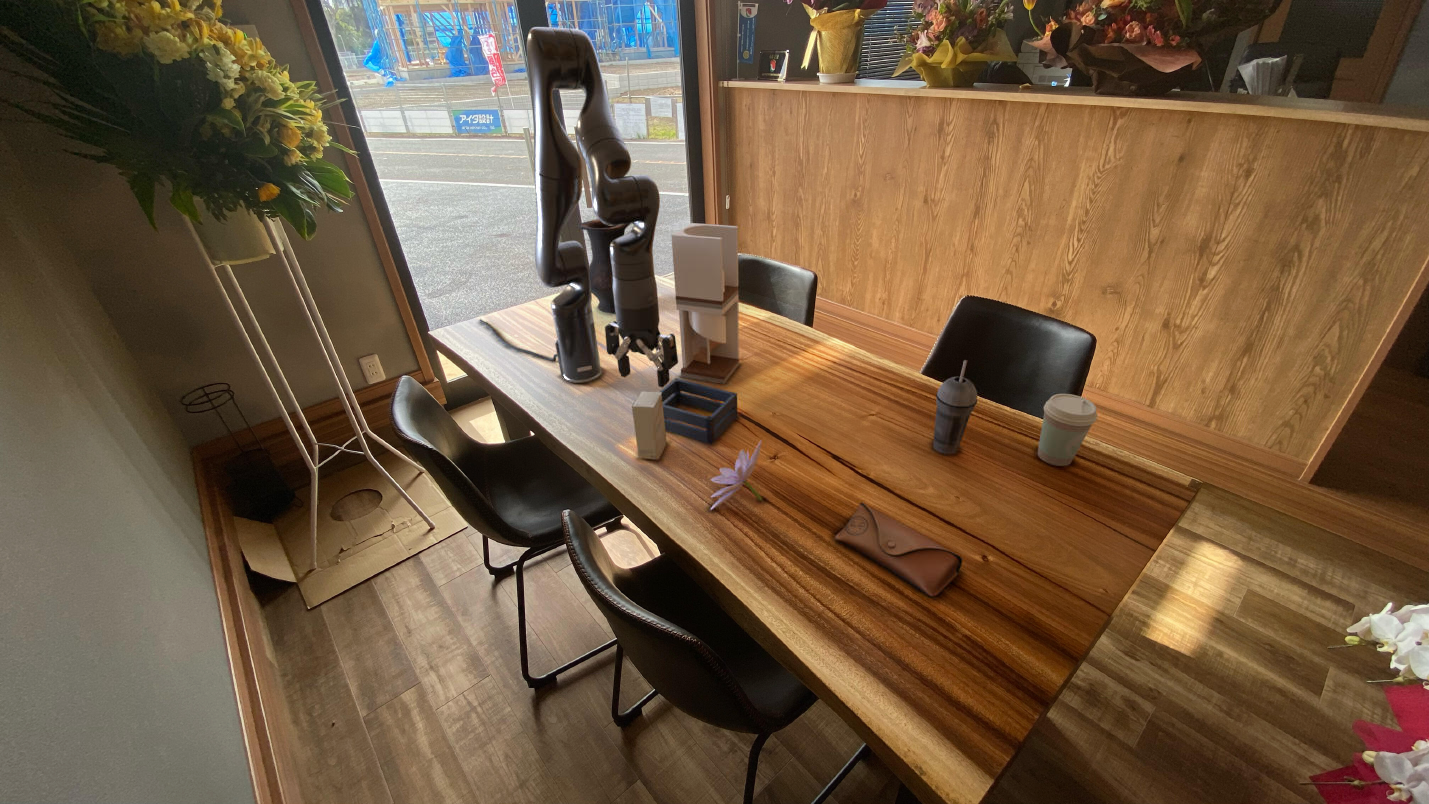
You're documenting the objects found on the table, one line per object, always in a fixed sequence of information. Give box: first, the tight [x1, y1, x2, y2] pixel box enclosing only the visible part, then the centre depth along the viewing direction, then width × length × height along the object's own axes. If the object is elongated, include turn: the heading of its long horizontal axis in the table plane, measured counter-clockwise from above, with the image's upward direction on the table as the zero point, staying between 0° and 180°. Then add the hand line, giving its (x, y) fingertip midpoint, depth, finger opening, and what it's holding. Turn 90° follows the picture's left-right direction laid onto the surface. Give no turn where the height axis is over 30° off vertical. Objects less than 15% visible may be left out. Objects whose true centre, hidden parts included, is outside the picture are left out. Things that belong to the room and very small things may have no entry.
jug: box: [577, 218, 634, 314], centre depth 174 cm, size 21×18×30 cm
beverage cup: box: [932, 359, 978, 455], centre depth 108 cm, size 7×7×20 cm
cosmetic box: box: [631, 390, 667, 460], centre depth 113 cm, size 6×4×12 cm
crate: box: [658, 377, 738, 445], centre depth 123 cm, size 16×12×6 cm
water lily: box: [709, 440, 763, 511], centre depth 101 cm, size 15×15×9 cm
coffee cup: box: [1037, 393, 1098, 467], centre depth 107 cm, size 8×9×12 cm
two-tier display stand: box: [670, 222, 740, 385], centre depth 135 cm, size 11×11×35 cm
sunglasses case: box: [834, 502, 963, 598], centre depth 89 cm, size 18×7×7 cm
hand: (644, 380), depth 107 cm, fingers open, 8 cm apart
